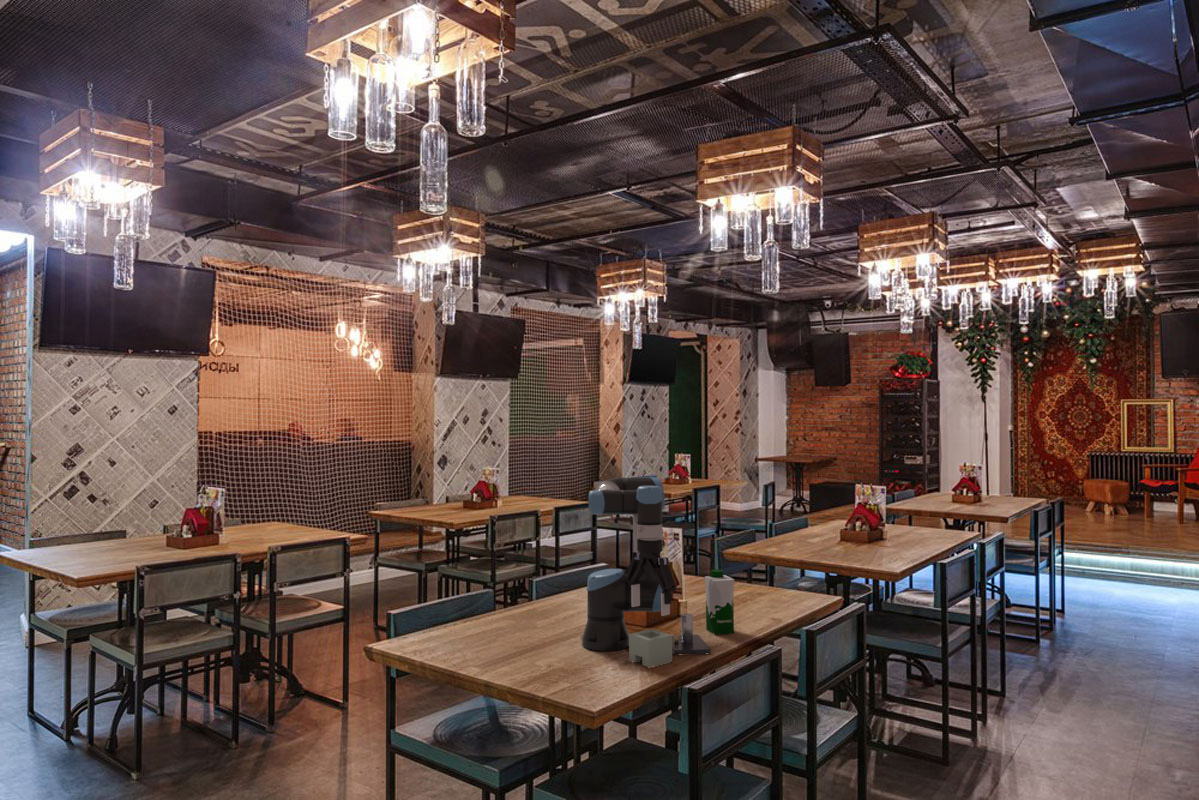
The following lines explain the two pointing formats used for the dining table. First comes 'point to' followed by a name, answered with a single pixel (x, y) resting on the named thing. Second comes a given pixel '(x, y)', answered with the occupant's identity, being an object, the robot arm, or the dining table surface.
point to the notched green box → (650, 647)
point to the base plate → (690, 647)
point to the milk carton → (719, 603)
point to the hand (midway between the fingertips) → (650, 610)
